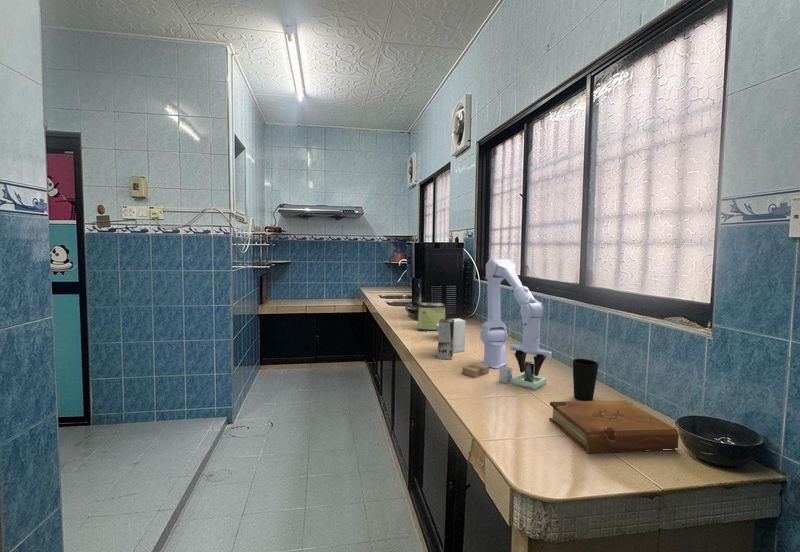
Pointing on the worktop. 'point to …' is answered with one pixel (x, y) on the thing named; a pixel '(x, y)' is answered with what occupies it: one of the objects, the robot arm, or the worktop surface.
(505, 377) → the block
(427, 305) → the protein box
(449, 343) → the coffee box
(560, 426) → the diary
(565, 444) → the worktop surface
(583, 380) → the cup
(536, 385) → the green tray
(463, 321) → the skincare box
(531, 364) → the steel pin
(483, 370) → the brown rectangular block
